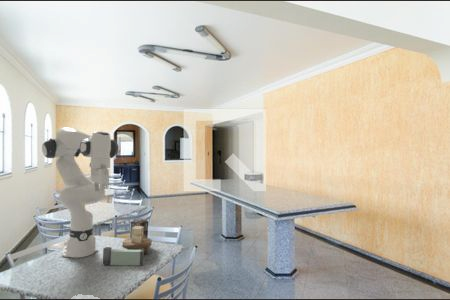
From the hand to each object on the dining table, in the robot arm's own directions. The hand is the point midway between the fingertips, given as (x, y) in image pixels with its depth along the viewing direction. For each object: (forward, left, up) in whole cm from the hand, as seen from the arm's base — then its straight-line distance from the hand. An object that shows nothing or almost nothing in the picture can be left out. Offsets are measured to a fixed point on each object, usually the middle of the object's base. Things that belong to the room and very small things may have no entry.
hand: (99, 192), depth 136 cm
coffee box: (-27, +31, -39) cm, 56 cm away
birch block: (-13, +25, -31) cm, 42 cm away
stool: (-13, +25, -39) cm, 48 cm away
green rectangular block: (-3, +14, -39) cm, 41 cm away
